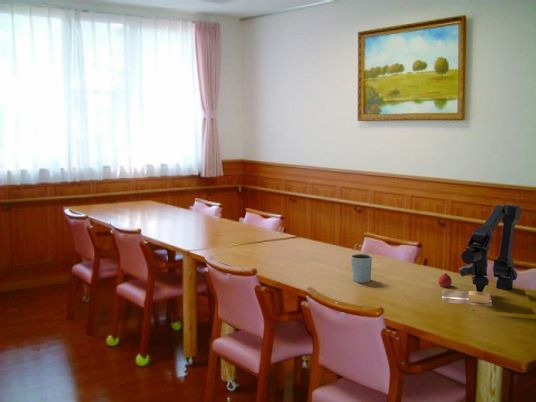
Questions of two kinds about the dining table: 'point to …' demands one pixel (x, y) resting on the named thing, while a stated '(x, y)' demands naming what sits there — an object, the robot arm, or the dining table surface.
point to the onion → (445, 280)
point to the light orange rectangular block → (479, 297)
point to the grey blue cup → (361, 267)
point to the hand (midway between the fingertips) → (478, 295)
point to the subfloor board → (460, 298)
